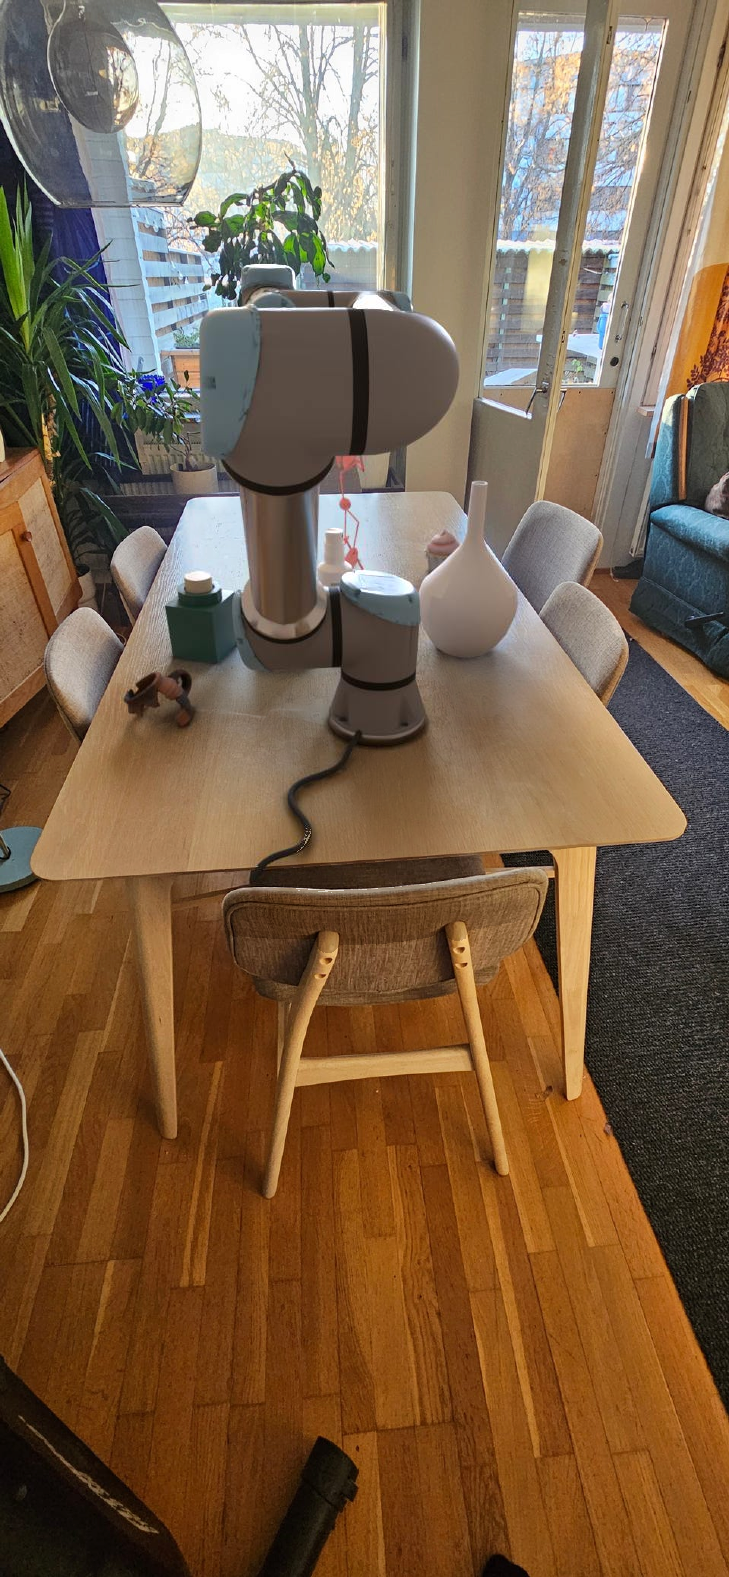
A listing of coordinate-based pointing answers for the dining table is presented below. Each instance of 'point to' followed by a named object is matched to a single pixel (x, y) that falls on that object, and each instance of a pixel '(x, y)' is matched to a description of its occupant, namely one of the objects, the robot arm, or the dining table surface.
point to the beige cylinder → (198, 582)
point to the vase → (468, 592)
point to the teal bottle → (201, 624)
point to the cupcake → (440, 549)
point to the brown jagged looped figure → (167, 688)
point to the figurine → (346, 504)
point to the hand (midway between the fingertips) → (281, 533)
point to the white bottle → (333, 559)
